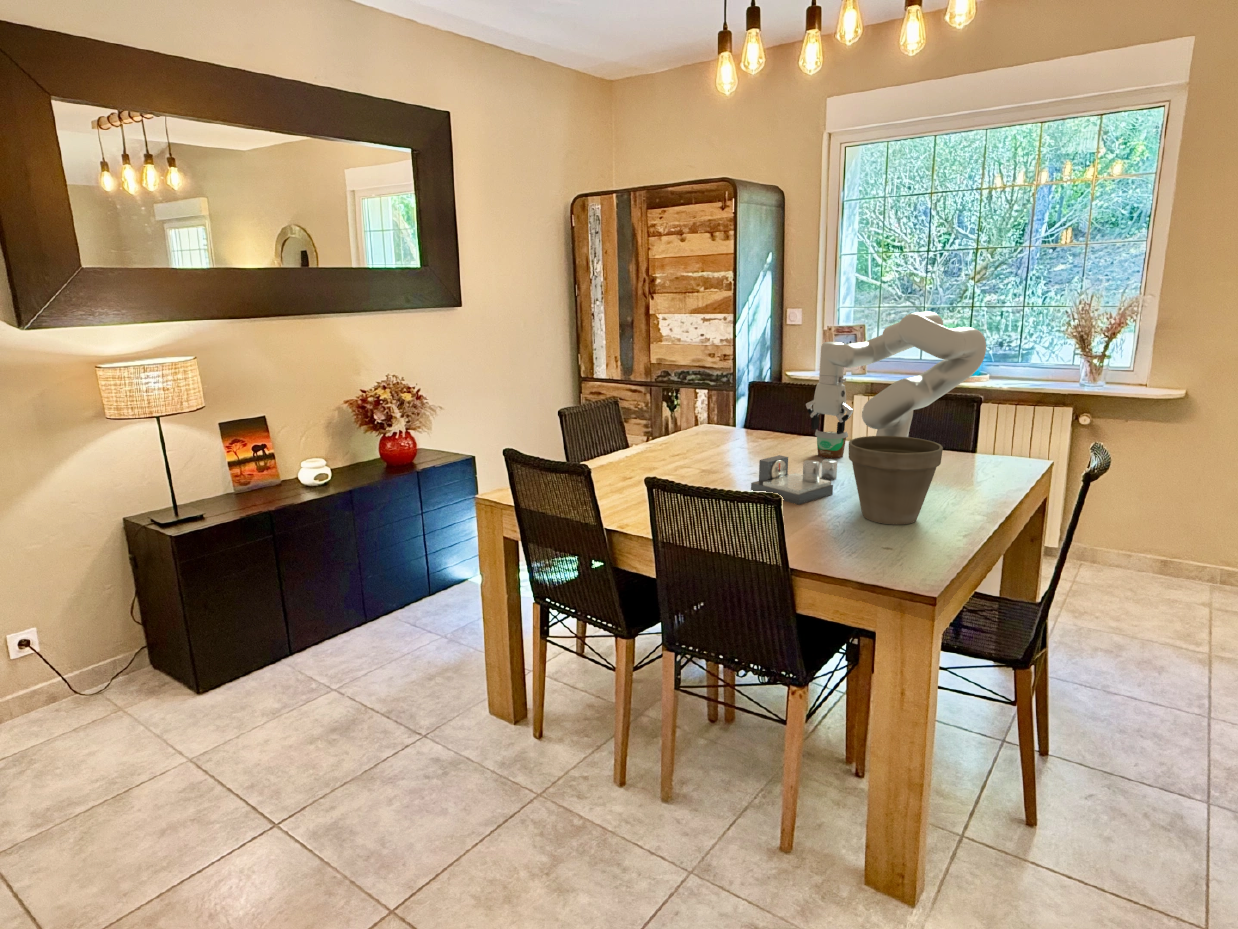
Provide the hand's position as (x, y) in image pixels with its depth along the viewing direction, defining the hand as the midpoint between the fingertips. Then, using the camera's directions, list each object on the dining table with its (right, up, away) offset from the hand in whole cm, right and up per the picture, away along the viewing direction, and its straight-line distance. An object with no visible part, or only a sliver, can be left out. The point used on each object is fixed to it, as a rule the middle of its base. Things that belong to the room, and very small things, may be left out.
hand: (827, 431), depth 250 cm
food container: (+10, -9, +35) cm, 38 cm away
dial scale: (-14, -20, -10) cm, 27 cm away
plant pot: (+8, -26, -35) cm, 45 cm away
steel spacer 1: (-9, -16, -12) cm, 22 cm away
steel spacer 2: (+2, -16, +6) cm, 17 cm away
